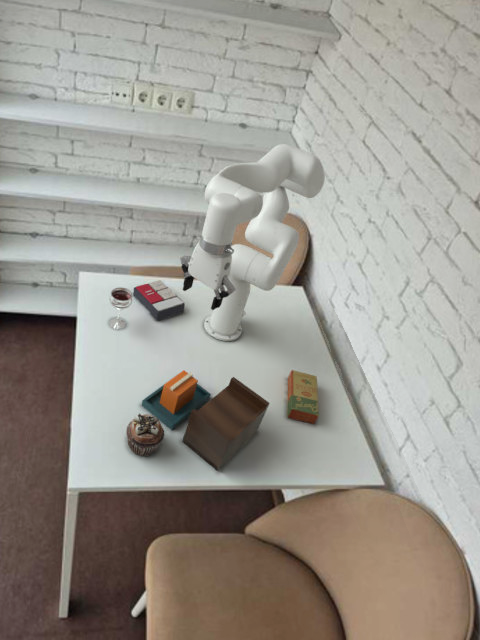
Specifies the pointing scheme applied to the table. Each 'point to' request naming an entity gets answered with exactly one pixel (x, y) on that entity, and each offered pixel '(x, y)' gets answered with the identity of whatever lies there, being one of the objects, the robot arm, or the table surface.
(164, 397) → the packet
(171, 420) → the tray
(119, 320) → the wineglass
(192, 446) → the shelf
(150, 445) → the cupcake
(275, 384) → the table surface
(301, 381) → the carton
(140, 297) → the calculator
